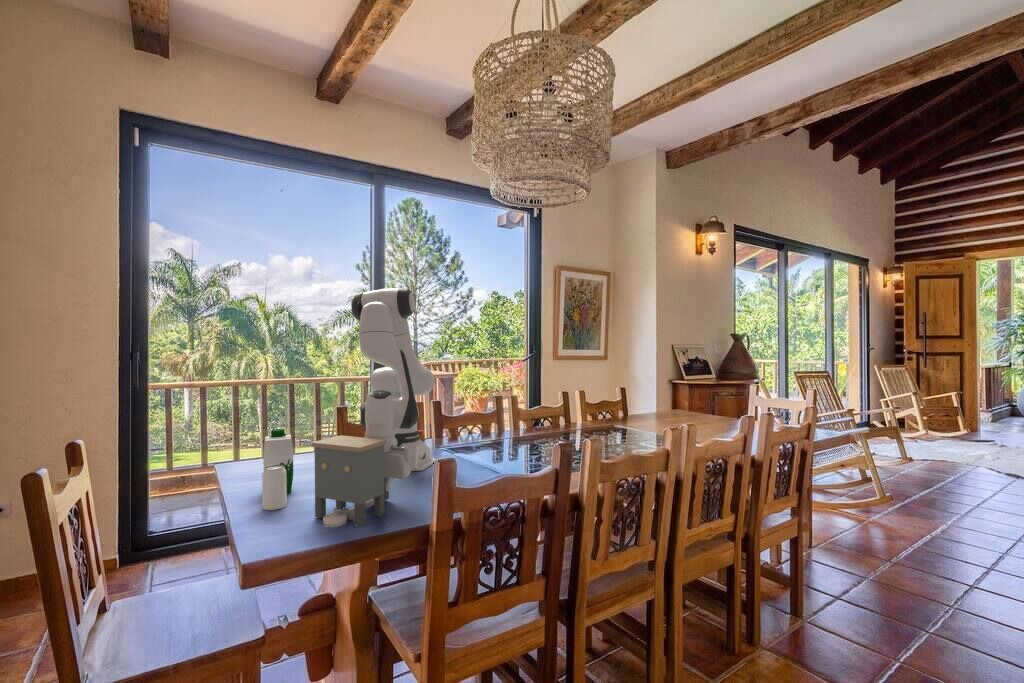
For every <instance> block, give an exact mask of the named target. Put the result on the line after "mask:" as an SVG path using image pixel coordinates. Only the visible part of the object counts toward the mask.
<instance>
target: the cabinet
mask: <svg viewBox="0 0 1024 683" xmlns="http://www.w3.org/2000/svg"><path fill="white" fill-rule="evenodd" d="M385 444H387V440H384V439H373V438H365V437H364V436H363V437H361V436H360V437H359V436H351V435H343V434H342V435H340V434H339V435H337V436H332V437H328V438H324V439H320V440H316V441H313V442H311V447H312V448H314V518H315V517H317V518H322V519H323V517H324V516H325V515H327V500H332V501H333V500H334V501H335V508H341V509H343V508H345V507H346V508H347V503H351V504H353V507H354V509H355V520H354V526H355V525H357V526H356V527H360V526H361V527H363V526H364V524H365V525H366V519H367V518H366V517H367V516H366V509H365V502H366V501H369V500H371V499H373V498H374V506H373V509H374V510H373V511H374V512H373V515H376V516H375V517H379V516H381V515H382V516H384V515H385V506H386V504H385V501H384V445H385ZM346 508H345V509H346ZM383 514H384V515H383ZM382 516H381V517H382ZM317 518H316V519H317ZM362 525H363V526H362Z"/></svg>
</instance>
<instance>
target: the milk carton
mask: <svg viewBox="0 0 1024 683" xmlns="http://www.w3.org/2000/svg"><path fill="white" fill-rule="evenodd" d="M285 431H286V430H285V429H284V428H275V429H274V428H273V429H272V430H270V432H271V433H270V435H269V436H268V435H266V436H265V437H264V442H263V444H264V445H263V449H262V450H263V454H262V455H263V468H264V467H267V466H270V465H284V466H285V467H284V468H285V470H286V489H287V495H289V494H288V493H291V494H292V486H293V481H294V444H293V438H292V435H291V434H290V433H289V434H286V432H285Z"/></svg>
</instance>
